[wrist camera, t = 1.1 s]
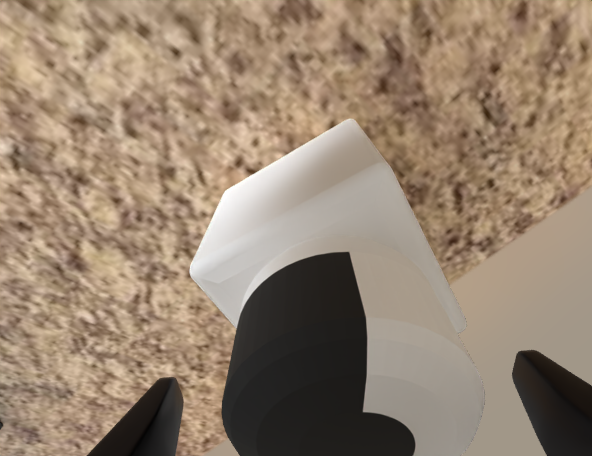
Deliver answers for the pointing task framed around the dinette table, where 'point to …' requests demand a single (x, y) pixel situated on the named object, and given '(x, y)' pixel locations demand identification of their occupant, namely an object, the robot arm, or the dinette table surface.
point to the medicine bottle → (336, 312)
